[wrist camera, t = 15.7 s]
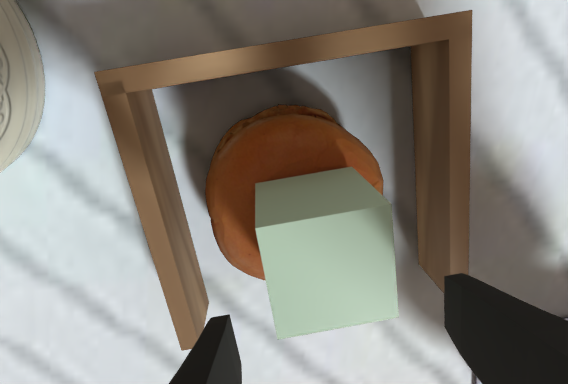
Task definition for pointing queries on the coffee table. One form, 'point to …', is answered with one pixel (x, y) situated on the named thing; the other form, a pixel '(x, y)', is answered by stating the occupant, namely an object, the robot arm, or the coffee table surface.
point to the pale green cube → (326, 251)
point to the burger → (274, 170)
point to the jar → (18, 83)
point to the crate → (416, 33)
